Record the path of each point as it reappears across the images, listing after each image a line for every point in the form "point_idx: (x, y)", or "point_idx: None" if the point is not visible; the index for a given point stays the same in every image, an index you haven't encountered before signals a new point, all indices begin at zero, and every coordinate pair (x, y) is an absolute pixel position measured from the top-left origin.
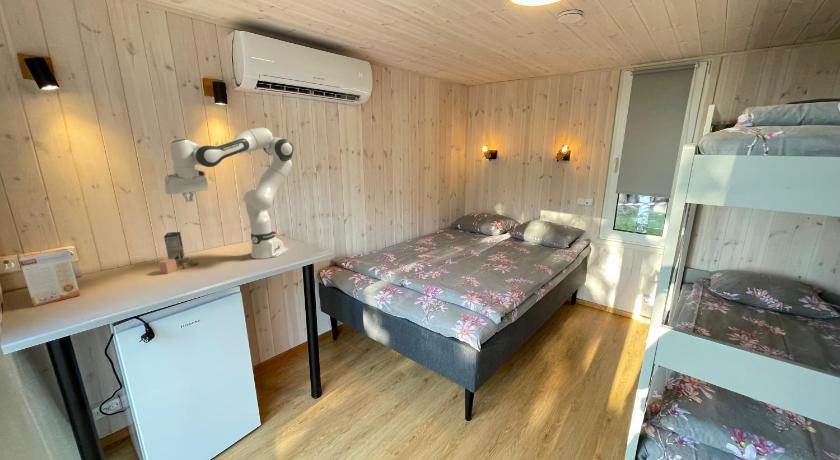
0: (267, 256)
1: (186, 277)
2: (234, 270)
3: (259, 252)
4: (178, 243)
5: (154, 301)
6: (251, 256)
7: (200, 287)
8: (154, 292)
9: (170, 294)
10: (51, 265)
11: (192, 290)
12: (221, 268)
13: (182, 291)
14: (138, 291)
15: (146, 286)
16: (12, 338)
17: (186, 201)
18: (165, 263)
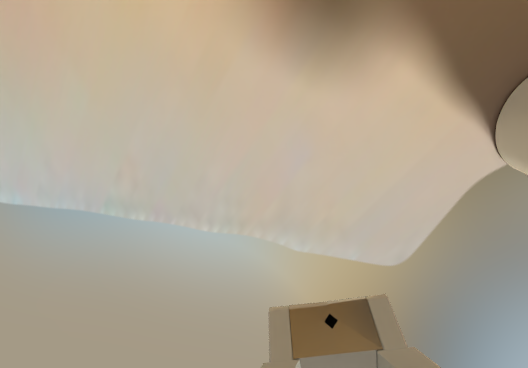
0: (519, 170)
1: (201, 72)
2: (340, 174)
3: (520, 155)
4: None
5: (40, 199)
6: (517, 90)
7: (176, 216)
8: (61, 123)
9: (91, 189)
10: None
11: (148, 217)
12: (340, 103)
13: (126, 198)
14: (21, 55)
15: (57, 22)
16: None
17: (270, 316)
18: None
